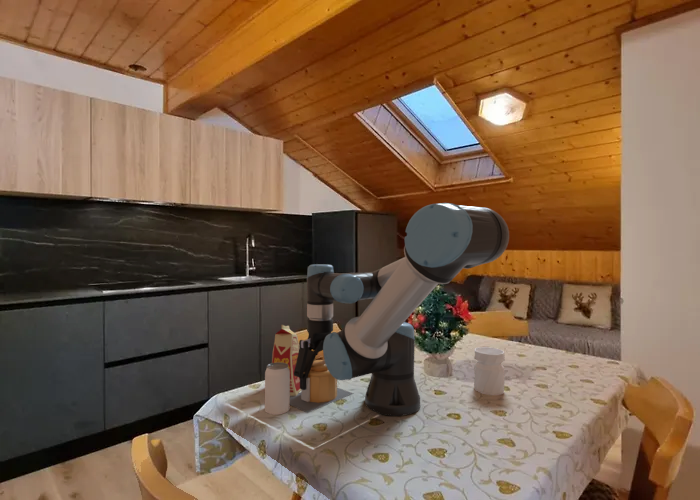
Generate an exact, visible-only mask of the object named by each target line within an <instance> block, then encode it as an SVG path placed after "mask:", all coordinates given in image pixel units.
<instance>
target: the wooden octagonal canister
mask: <svg viewBox="0 0 700 500" xmlns="http://www.w3.org/2000/svg"><path fill="white" fill-rule="evenodd" d="M304 373H305V372H304ZM308 377H309V378H310V402H318V403H320V402H328V401H331V400H333V399H335V398H336V396H337V388H338V380H337V379H336V378H334V377H333V376H332V375H331V374H330V372H329V370H328V368H327V366H326V363H325V360H324V359H314V362H313V364H312V367H311V369H310V372H309V374H308Z"/></svg>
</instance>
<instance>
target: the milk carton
mask: <svg viewBox="0 0 700 500" xmlns="http://www.w3.org/2000/svg"><path fill="white" fill-rule="evenodd" d="M280 326H281V329H279V330H278V331H277V332H276V333H275V334H274V335H275V336H274V342H273V349H272V352H271V353H272V355H271V363H277V362H281V363H286V364H288V368H289V370H290V396H296V395H297V394H298V393H300V392H301V389H300V378H299V377H296V376H294V370H295V366H296V361H297V357H298V352H299V338H298V334H296V332H294V331H293V330H291V329H290V325H284V324H281V325H280Z"/></svg>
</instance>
